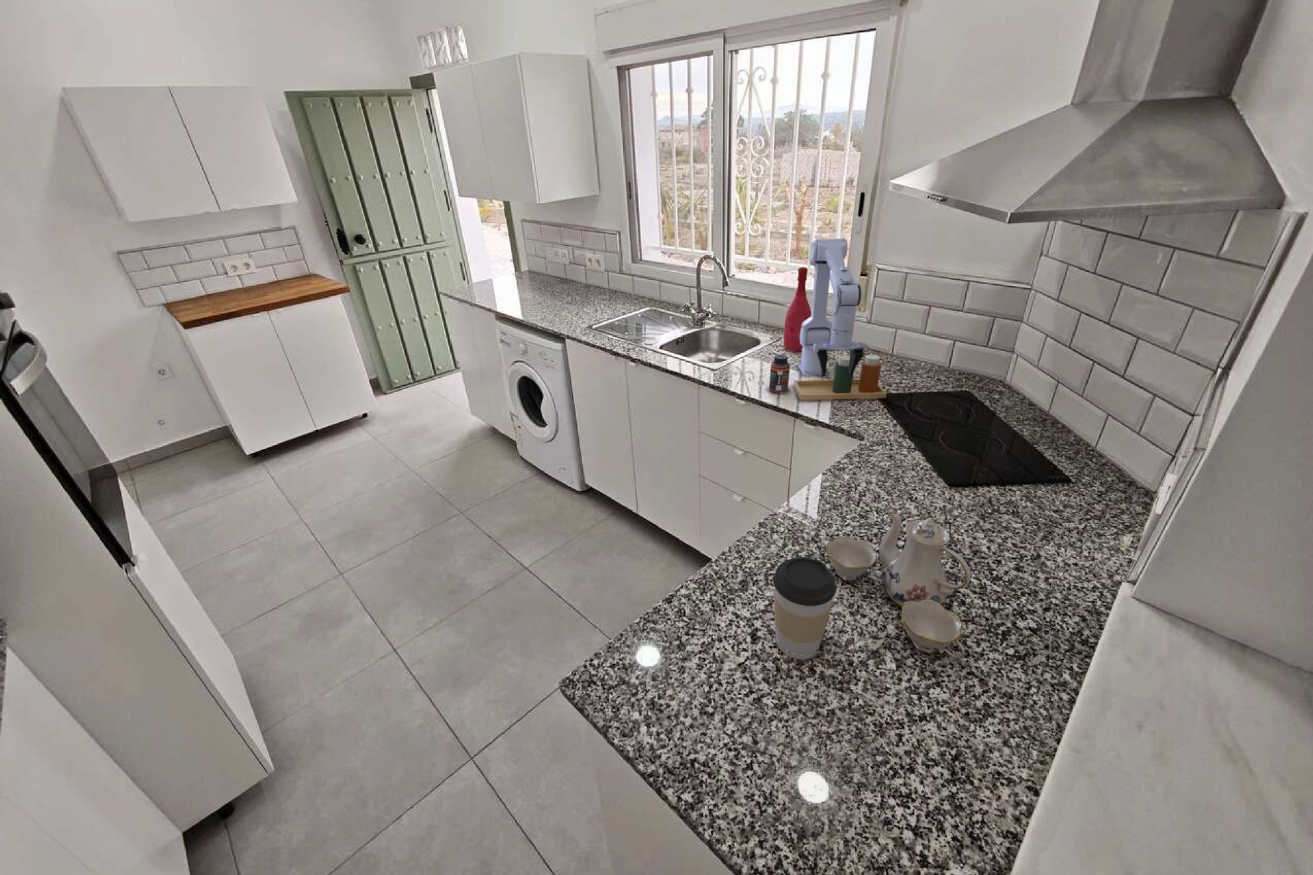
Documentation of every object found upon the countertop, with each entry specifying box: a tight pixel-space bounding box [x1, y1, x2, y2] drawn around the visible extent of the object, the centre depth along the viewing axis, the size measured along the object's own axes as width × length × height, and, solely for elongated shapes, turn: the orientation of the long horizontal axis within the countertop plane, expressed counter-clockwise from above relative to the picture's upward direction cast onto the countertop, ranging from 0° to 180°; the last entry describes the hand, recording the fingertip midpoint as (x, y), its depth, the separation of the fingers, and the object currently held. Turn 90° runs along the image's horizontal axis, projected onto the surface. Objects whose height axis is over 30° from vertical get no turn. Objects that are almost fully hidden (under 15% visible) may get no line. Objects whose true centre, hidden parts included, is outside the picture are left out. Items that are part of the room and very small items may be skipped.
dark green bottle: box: [832, 354, 855, 393], centre depth 165 cm, size 6×6×11 cm
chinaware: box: [825, 509, 972, 660], centre depth 89 cm, size 28×17×17 cm, turn 29°
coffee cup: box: [772, 556, 837, 661], centre depth 82 cm, size 9×9×15 cm
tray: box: [792, 378, 888, 401], centre depth 168 cm, size 12×26×2 cm, turn 88°
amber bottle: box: [858, 354, 882, 393], centre depth 165 cm, size 6×6×11 cm
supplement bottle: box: [768, 354, 791, 394], centre depth 169 cm, size 6×6×11 cm
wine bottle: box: [783, 266, 812, 352], centre depth 198 cm, size 10×10×30 cm
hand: (836, 374), depth 155 cm, fingers open, 7 cm apart
